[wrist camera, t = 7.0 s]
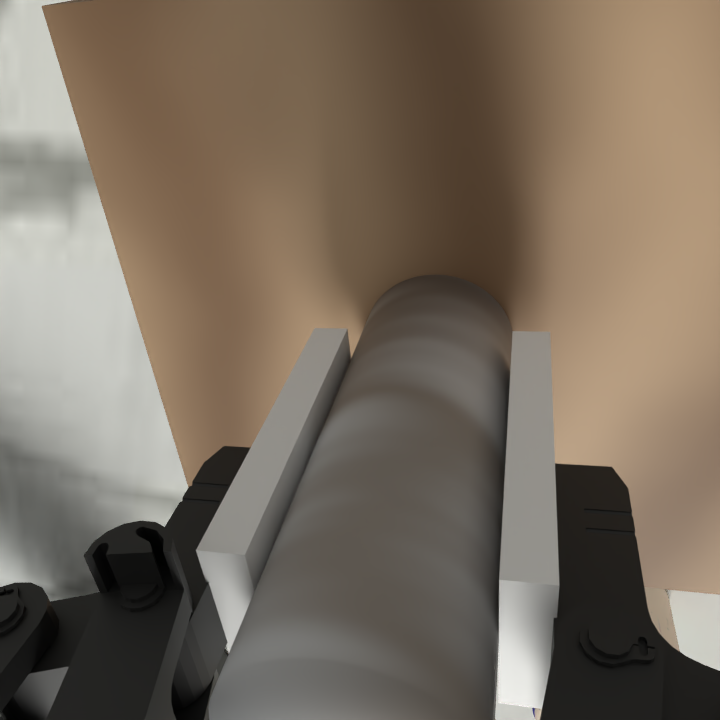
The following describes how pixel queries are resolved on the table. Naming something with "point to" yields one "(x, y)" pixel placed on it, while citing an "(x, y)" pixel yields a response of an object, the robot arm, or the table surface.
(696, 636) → the table surface
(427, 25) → the lid board
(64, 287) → the table surface
